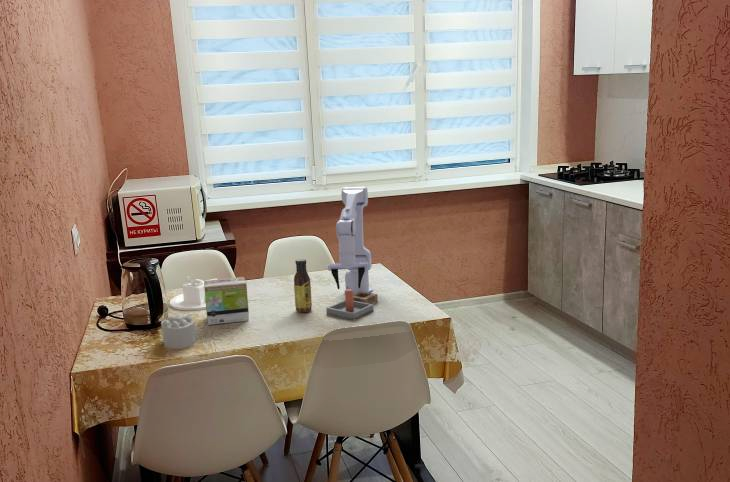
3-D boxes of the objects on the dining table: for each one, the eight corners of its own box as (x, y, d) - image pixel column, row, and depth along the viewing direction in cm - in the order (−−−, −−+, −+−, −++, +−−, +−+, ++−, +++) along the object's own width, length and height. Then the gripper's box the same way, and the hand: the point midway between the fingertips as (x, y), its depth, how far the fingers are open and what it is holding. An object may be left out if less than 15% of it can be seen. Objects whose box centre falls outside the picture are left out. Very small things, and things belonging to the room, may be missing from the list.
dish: (196, 315, 251) (194, 286, 248) (157, 304, 266) (154, 278, 263) (244, 297, 270) (242, 271, 267) (205, 289, 285) (202, 264, 282)
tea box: (208, 326, 237) (204, 287, 233) (207, 317, 246) (203, 280, 243) (249, 321, 240) (246, 282, 237) (247, 312, 250) (244, 275, 247)
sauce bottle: (309, 313, 245) (306, 262, 241) (293, 313, 247) (289, 262, 242) (314, 307, 252) (311, 257, 247) (298, 307, 253) (295, 257, 249)
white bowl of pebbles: (191, 333, 230) (189, 310, 228) (200, 345, 218) (197, 320, 217) (161, 339, 225) (158, 315, 224) (168, 351, 214) (165, 326, 212)
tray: (326, 314, 244) (326, 307, 243) (346, 305, 253) (346, 299, 252) (353, 320, 236) (353, 313, 235) (373, 310, 245) (373, 304, 245)
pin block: (349, 303, 255) (348, 296, 254) (361, 298, 261) (361, 291, 260) (365, 307, 250) (364, 299, 249) (377, 301, 256) (377, 294, 255)
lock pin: (344, 311, 244) (343, 290, 242) (349, 309, 246) (348, 288, 245) (350, 312, 242) (349, 292, 240) (355, 310, 244) (354, 290, 243)
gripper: (327, 256, 235) (329, 292, 238) (367, 253, 236) (369, 289, 239) (327, 251, 242) (329, 286, 245) (366, 249, 243) (368, 284, 246)
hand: (348, 287), depth 242 cm, fingers open, 7 cm apart
